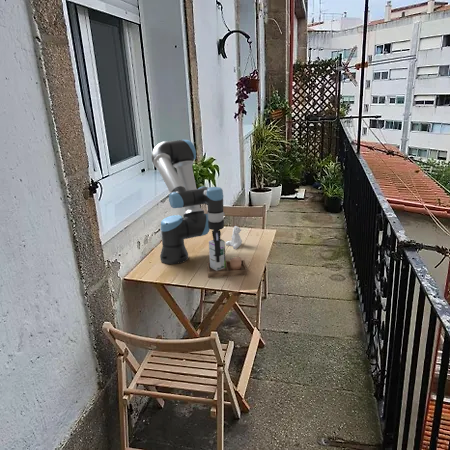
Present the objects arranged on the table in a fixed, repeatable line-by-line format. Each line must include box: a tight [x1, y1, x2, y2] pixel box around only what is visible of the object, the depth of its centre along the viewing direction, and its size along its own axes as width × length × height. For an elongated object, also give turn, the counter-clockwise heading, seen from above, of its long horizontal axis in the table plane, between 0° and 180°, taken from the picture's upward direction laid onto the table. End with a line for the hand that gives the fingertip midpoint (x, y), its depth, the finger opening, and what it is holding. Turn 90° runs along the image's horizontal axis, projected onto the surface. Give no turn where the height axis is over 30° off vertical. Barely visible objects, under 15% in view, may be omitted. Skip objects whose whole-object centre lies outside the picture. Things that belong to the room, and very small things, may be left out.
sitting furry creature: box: [225, 225, 243, 250], centre depth 220 cm, size 10×9×12 cm
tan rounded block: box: [229, 256, 242, 271], centre depth 187 cm, size 6×6×6 cm
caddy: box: [206, 259, 248, 278], centre depth 188 cm, size 19×12×4 cm, turn 95°
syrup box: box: [208, 238, 227, 271], centre depth 185 cm, size 6×6×14 cm
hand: (217, 263), depth 186 cm, fingers closed on syrup box, 8 cm apart
